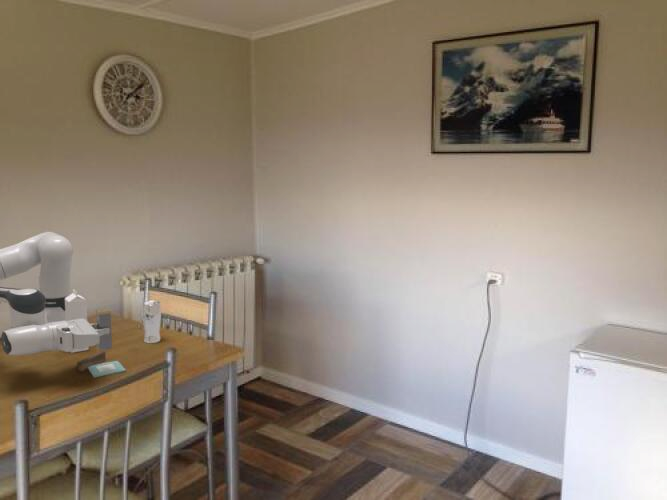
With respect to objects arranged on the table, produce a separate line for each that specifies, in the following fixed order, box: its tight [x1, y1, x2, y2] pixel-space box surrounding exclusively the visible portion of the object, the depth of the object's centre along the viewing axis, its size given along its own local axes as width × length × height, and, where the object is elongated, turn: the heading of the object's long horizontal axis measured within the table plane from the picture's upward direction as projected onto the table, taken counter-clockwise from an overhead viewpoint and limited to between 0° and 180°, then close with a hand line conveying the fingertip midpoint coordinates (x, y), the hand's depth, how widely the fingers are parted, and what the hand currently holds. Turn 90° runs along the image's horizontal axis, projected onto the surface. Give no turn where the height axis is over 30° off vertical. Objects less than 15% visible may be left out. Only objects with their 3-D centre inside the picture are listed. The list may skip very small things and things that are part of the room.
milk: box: [65, 288, 89, 354], centre depth 210 cm, size 6×6×22 cm
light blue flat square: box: [87, 360, 127, 378], centre depth 193 cm, size 10×10×1 cm
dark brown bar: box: [76, 350, 107, 373], centre depth 196 cm, size 2×12×3 cm, turn 165°
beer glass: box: [141, 300, 162, 344], centre depth 222 cm, size 7×7×15 cm
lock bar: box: [94, 307, 113, 351], centre depth 190 cm, size 4×4×13 cm
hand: (107, 328), depth 191 cm, fingers closed on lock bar, 4 cm apart
